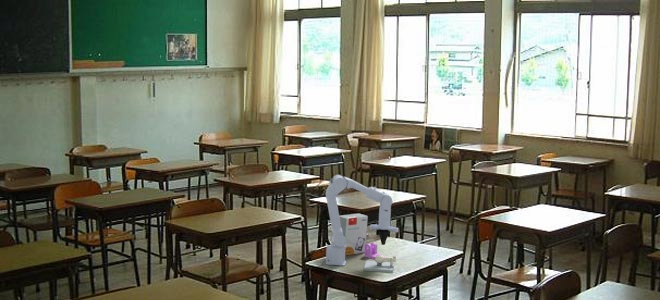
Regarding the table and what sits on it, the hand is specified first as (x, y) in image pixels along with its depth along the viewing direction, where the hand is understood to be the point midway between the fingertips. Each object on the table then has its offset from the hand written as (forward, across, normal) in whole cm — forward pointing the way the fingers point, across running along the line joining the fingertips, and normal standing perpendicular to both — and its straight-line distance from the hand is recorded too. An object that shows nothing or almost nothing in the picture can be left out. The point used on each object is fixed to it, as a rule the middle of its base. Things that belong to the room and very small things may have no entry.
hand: (383, 244), depth 406 cm
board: (+10, +1, -8) cm, 13 cm away
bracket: (+10, -6, +9) cm, 15 cm away
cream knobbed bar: (+7, +4, -7) cm, 10 cm away
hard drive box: (+10, -22, +12) cm, 27 cm away
